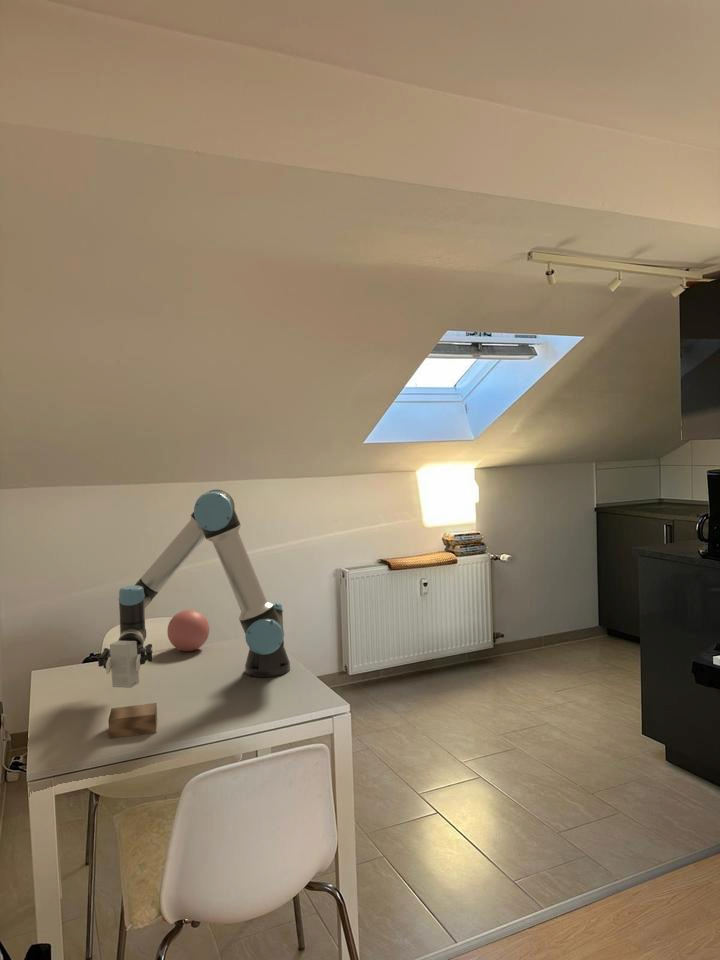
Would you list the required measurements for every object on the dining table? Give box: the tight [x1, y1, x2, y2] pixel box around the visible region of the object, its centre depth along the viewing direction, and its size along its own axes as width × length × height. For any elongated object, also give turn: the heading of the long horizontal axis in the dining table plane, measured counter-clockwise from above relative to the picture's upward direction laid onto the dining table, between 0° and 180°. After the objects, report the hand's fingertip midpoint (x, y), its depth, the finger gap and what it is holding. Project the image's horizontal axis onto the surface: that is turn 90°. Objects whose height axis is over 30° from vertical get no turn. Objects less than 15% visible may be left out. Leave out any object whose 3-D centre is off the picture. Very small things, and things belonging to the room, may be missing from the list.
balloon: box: [166, 609, 210, 652], centre depth 276 cm, size 15×20×15 cm
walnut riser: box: [108, 702, 158, 739], centre depth 198 cm, size 12×9×5 cm
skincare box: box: [109, 640, 140, 689], centre depth 200 cm, size 6×4×12 cm
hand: (122, 667), depth 195 cm, fingers closed on skincare box, 7 cm apart
